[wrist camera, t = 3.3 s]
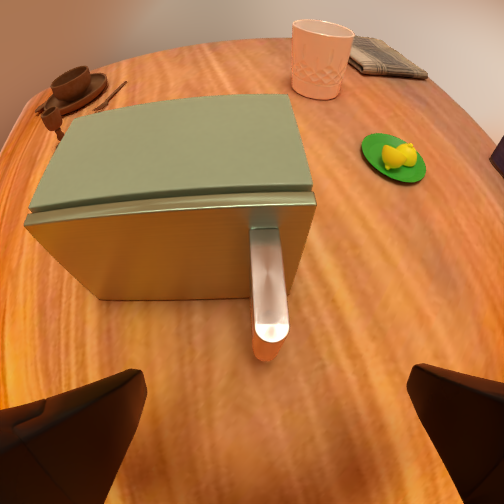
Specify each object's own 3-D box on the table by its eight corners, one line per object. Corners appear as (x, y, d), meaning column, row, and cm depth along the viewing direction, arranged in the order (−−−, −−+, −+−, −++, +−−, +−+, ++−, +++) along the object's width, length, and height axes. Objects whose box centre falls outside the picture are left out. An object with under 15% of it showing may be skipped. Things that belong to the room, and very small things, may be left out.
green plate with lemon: (413, 198, 26) (424, 180, 24) (348, 158, 29) (354, 137, 26) (430, 162, 29) (439, 145, 27) (375, 129, 32) (381, 111, 29)
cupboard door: (296, 367, 18) (341, 326, 9) (92, 365, 18) (-4, 321, 9) (288, 285, 21) (314, 190, 12) (100, 290, 21) (27, 213, 12)
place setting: (135, 75, 40) (129, 46, 35) (70, 152, 30) (52, 116, 25) (63, 87, 41) (54, 63, 36) (0, 157, 31) (-16, 132, 26)
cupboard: (287, 283, 22) (313, 183, 12) (101, 288, 21) (27, 207, 12) (277, 199, 26) (288, 93, 16) (118, 208, 25) (74, 118, 16)
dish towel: (429, 82, 42) (434, 69, 40) (361, 76, 40) (365, 61, 37) (376, 44, 51) (379, 33, 48) (311, 39, 48) (313, 27, 46)
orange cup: (287, 74, 38) (292, 16, 30) (338, 81, 38) (348, 25, 29) (287, 98, 34) (293, 30, 26) (345, 106, 34) (360, 41, 25)
